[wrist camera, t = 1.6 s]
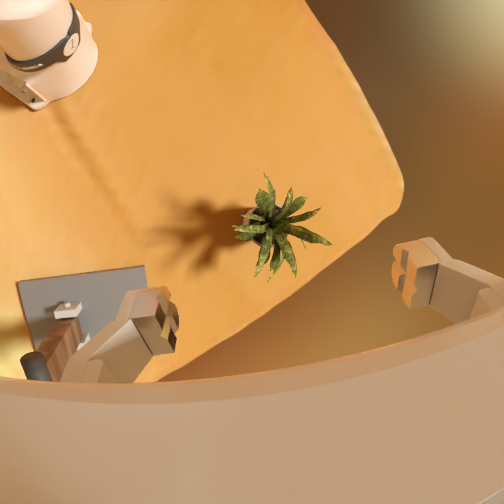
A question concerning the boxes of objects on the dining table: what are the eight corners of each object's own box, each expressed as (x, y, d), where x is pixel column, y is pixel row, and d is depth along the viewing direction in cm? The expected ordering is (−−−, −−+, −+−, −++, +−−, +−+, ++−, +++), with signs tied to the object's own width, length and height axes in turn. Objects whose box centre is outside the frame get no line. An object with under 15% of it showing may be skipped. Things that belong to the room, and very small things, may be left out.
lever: (69, 344, 44) (36, 409, 26) (59, 309, 42) (16, 364, 24) (85, 342, 44) (57, 410, 26) (76, 307, 43) (38, 363, 25)
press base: (43, 361, 46) (34, 375, 40) (20, 280, 43) (8, 288, 37) (159, 351, 52) (160, 365, 47) (144, 265, 49) (142, 272, 44)
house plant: (193, 206, 50) (209, 208, 35) (261, 162, 52) (302, 148, 37) (240, 274, 54) (273, 303, 39) (301, 229, 56) (352, 241, 41)
